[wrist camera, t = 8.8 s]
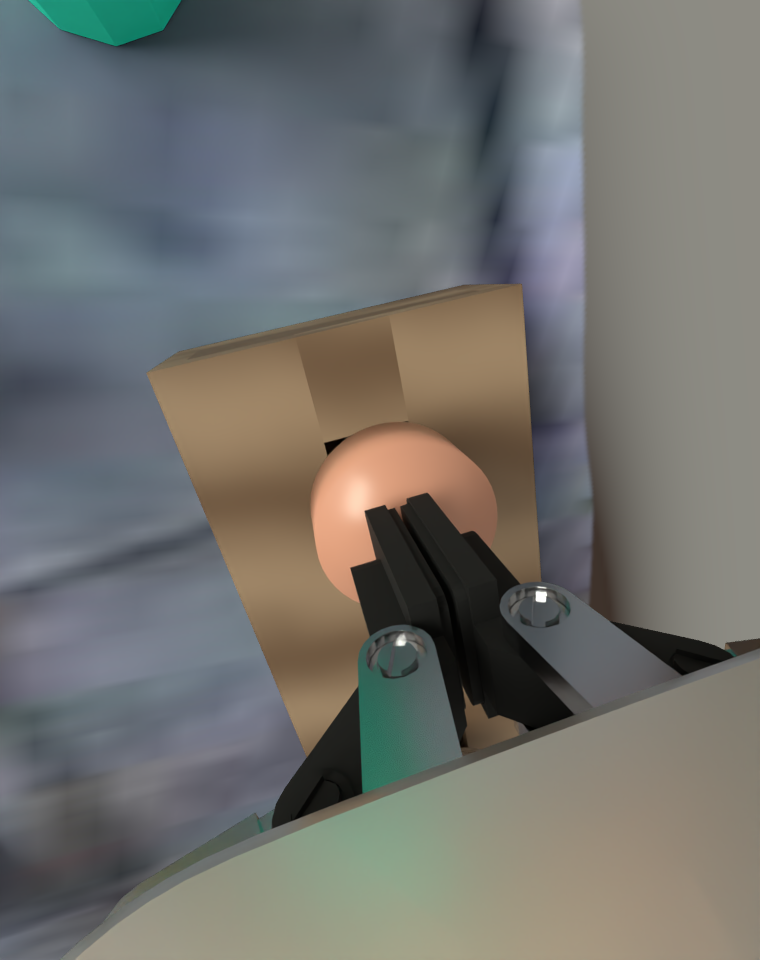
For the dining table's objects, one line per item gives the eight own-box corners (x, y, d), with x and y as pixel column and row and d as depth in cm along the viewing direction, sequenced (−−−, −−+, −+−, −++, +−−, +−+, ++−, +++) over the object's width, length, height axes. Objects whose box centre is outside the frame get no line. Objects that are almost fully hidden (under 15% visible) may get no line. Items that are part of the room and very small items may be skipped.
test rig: (512, 705, 30) (554, 778, 26) (336, 765, 29) (347, 854, 24) (464, 284, 19) (521, 283, 15) (178, 351, 18) (146, 373, 14)
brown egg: (430, 485, 20) (504, 580, 14) (319, 516, 19) (341, 631, 13) (410, 372, 18) (488, 420, 11) (285, 404, 17) (292, 473, 11)
